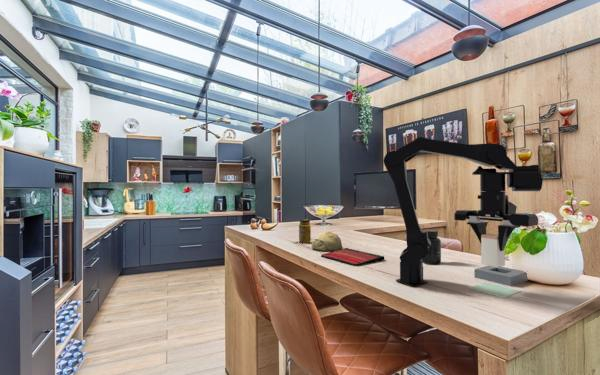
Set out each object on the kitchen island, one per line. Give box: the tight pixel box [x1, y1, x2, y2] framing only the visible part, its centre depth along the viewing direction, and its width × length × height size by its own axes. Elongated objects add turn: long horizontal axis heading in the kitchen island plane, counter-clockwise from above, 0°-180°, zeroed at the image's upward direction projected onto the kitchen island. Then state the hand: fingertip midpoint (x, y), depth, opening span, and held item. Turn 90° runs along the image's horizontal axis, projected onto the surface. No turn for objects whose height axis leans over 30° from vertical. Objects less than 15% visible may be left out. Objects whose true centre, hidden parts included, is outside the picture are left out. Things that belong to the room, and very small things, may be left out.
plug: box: [480, 233, 506, 267], centre depth 82 cm, size 4×4×8 cm
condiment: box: [293, 218, 313, 245], centre depth 159 cm, size 7×8×12 cm
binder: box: [320, 247, 385, 267], centre depth 123 cm, size 16×2×21 cm
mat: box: [467, 281, 522, 299], centre depth 82 cm, size 9×9×1 cm
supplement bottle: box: [421, 229, 442, 265], centre depth 114 cm, size 7×7×12 cm
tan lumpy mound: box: [311, 231, 344, 252], centre depth 142 cm, size 14×12×8 cm
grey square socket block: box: [473, 265, 529, 287], centre depth 92 cm, size 10×10×3 cm
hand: (492, 249), depth 82 cm, fingers closed on plug, 4 cm apart
